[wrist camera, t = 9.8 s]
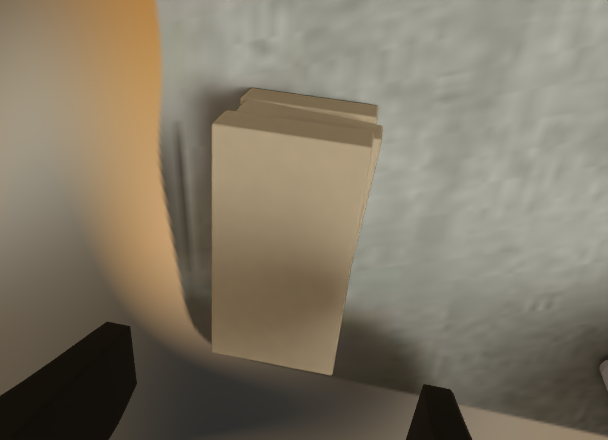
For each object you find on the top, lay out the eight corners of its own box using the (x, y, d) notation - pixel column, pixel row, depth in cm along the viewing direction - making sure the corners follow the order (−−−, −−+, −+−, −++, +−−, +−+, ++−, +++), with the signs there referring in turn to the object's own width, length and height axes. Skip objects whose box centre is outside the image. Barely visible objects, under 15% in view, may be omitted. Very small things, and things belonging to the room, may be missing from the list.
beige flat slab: (335, 349, 19) (331, 376, 18) (222, 327, 19) (211, 353, 18) (374, 130, 14) (372, 147, 13) (225, 109, 15) (210, 123, 14)
